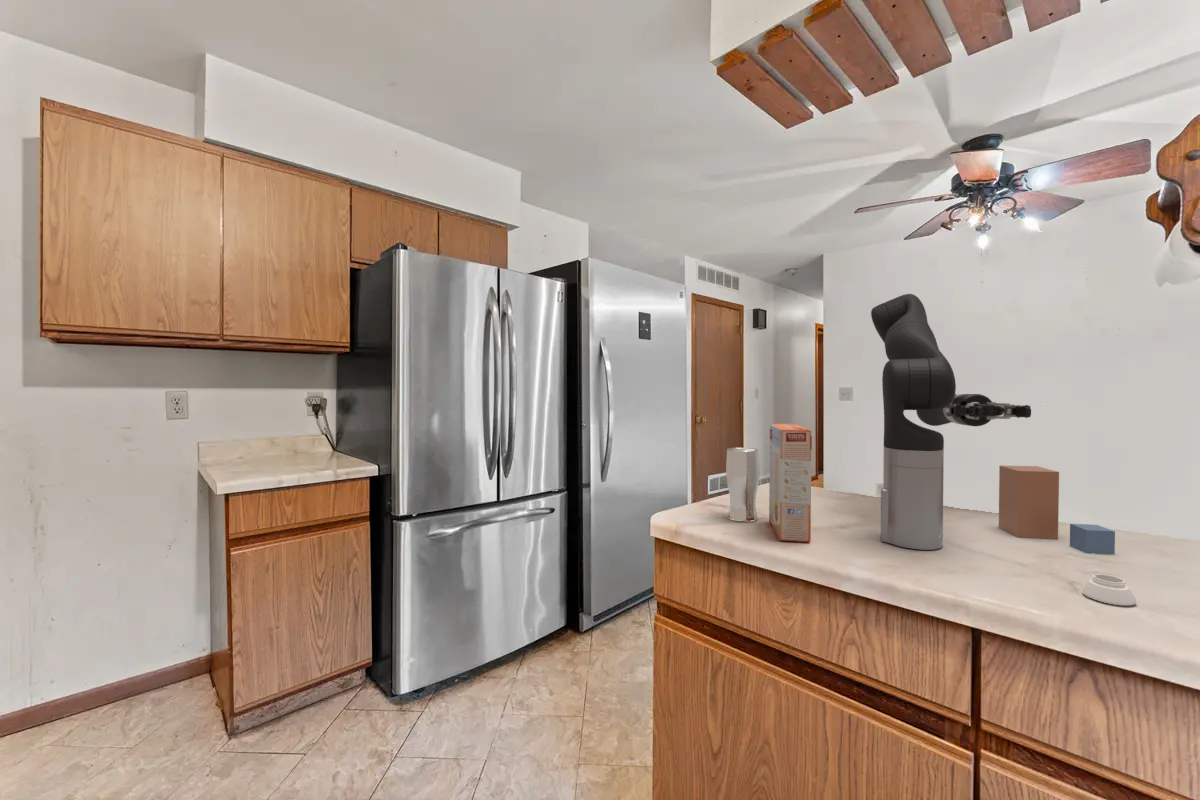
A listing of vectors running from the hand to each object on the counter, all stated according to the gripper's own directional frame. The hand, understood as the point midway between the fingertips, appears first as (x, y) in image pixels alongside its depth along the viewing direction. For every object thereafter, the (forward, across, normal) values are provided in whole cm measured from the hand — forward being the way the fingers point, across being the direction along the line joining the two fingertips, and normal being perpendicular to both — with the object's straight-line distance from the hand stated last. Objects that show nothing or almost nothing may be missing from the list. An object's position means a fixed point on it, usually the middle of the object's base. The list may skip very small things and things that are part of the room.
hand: (1004, 412), depth 105 cm
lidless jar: (+41, -7, +24) cm, 48 cm away
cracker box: (+17, -44, +23) cm, 53 cm away
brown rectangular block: (+9, 0, +23) cm, 25 cm away
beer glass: (+9, -53, +23) cm, 58 cm away
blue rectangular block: (+18, +5, +23) cm, 30 cm away
